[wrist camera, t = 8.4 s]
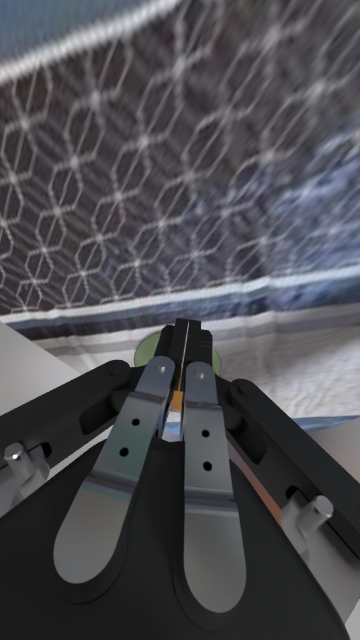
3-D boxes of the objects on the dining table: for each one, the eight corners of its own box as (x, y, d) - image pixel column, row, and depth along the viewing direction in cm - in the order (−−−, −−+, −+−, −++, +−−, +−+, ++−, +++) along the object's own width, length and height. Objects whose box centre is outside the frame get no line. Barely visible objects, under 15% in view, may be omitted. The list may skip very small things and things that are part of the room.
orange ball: (207, 381, 39) (210, 387, 34) (195, 411, 39) (196, 423, 33) (177, 369, 39) (176, 373, 34) (165, 399, 39) (162, 408, 34)
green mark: (236, 350, 34) (236, 351, 34) (199, 403, 42) (199, 404, 41) (148, 317, 32) (148, 318, 32) (126, 379, 40) (126, 379, 40)
